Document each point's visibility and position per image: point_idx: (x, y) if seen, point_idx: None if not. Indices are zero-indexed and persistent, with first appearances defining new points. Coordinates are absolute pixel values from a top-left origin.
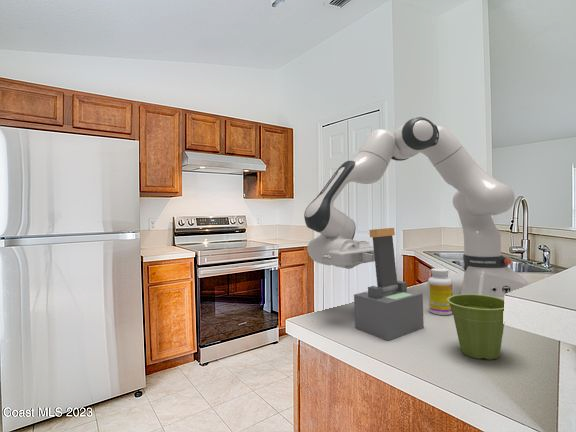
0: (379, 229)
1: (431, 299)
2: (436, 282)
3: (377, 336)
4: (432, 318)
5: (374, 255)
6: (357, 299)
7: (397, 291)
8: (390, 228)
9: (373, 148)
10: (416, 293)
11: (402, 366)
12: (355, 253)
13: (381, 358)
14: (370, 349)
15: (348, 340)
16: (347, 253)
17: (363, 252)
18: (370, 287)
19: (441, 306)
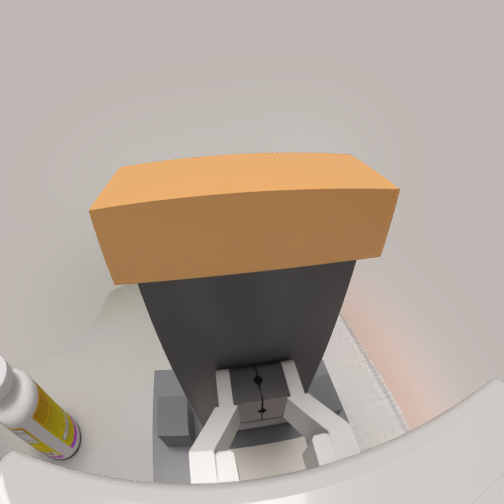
0: (322, 156)
1: (60, 432)
2: (33, 392)
3: None
4: (107, 433)
5: (326, 345)
6: None
7: (194, 428)
8: (172, 163)
9: None
10: (168, 379)
11: (336, 324)
12: (427, 422)
13: (353, 349)
14: (356, 378)
15: (379, 423)
16: (479, 388)
17: (348, 457)
18: (336, 401)
19: (67, 416)
